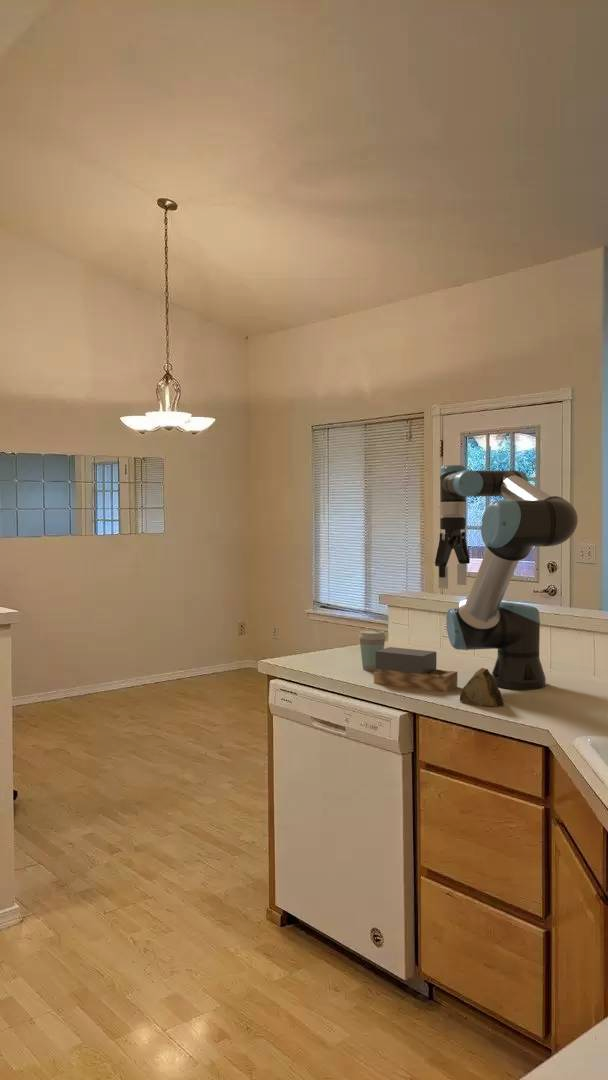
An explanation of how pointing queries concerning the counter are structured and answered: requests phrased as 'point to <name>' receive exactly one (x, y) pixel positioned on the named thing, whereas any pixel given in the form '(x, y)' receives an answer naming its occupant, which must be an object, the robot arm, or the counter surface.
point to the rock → (482, 690)
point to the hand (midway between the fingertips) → (452, 586)
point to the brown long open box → (418, 679)
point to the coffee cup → (371, 647)
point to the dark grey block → (406, 660)
